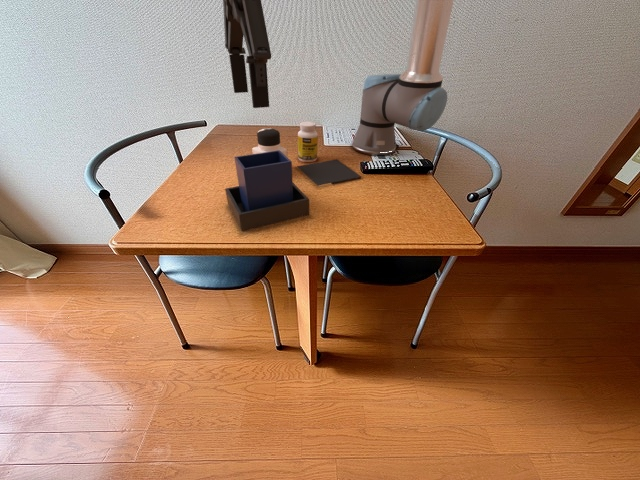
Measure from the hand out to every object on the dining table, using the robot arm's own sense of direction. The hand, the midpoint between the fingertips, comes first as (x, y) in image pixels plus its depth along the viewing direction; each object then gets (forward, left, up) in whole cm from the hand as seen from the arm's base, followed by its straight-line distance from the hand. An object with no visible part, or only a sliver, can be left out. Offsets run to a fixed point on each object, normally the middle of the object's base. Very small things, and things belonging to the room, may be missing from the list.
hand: (250, 99), depth 54 cm
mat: (-24, -10, -23) cm, 35 cm away
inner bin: (-1, +3, -23) cm, 23 cm away
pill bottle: (-23, -22, -24) cm, 39 cm away
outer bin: (-1, +3, -23) cm, 24 cm away
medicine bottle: (-9, -17, -24) cm, 30 cm away
